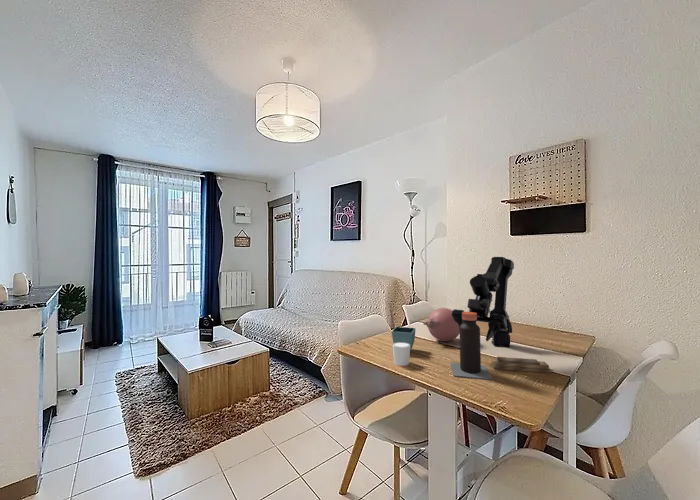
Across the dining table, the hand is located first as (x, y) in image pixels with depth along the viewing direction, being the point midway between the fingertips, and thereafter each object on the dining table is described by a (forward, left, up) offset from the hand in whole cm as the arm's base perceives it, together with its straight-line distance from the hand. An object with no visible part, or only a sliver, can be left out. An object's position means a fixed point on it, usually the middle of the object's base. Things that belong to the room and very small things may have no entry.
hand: (473, 338), depth 108 cm
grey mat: (-2, -4, -11) cm, 11 cm away
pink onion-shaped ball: (-10, +31, -11) cm, 35 cm away
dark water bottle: (-2, -3, -10) cm, 11 cm away
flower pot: (-26, +14, -11) cm, 31 cm away
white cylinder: (-26, -1, -11) cm, 28 cm away
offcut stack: (+16, +3, -11) cm, 20 cm away
